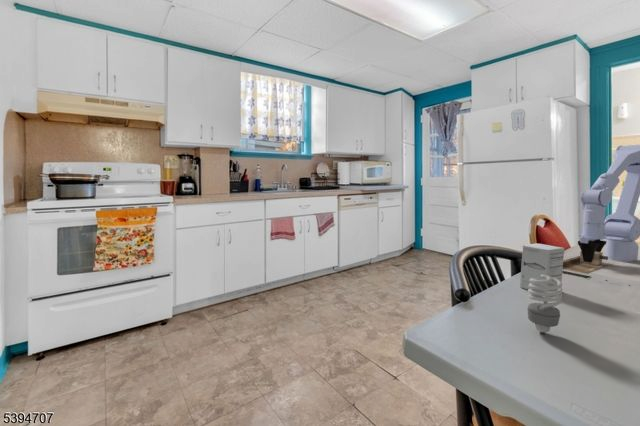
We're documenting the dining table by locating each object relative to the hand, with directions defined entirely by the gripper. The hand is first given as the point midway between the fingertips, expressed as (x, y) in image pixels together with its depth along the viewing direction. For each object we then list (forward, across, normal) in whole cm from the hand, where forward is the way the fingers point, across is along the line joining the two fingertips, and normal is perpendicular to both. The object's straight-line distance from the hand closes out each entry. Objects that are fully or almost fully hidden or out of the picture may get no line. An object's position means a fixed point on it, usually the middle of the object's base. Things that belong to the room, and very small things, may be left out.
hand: (590, 260), depth 114 cm
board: (+2, +6, 0) cm, 7 cm away
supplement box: (+2, +42, +2) cm, 42 cm away
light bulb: (+2, +70, +16) cm, 72 cm away
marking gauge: (+1, 0, 0) cm, 1 cm away
